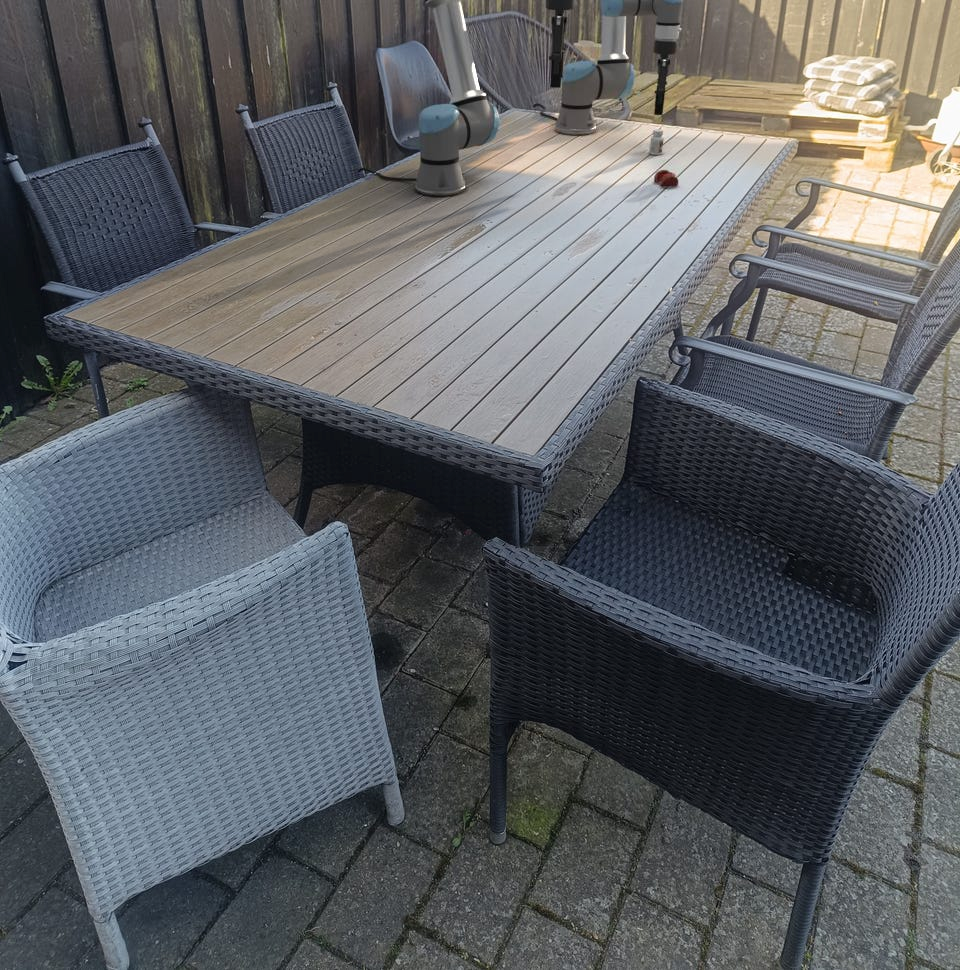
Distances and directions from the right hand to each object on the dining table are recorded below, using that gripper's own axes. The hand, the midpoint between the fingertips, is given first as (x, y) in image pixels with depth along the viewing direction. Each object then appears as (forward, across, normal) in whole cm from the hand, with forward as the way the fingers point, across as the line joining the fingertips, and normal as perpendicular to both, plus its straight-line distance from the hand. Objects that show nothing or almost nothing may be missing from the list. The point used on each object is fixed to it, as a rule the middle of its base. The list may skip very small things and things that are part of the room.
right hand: (658, 110), depth 283 cm
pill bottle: (+14, +2, -1) cm, 14 cm away
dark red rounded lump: (+14, -35, -4) cm, 38 cm away
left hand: (-18, -62, +29) cm, 71 cm away
